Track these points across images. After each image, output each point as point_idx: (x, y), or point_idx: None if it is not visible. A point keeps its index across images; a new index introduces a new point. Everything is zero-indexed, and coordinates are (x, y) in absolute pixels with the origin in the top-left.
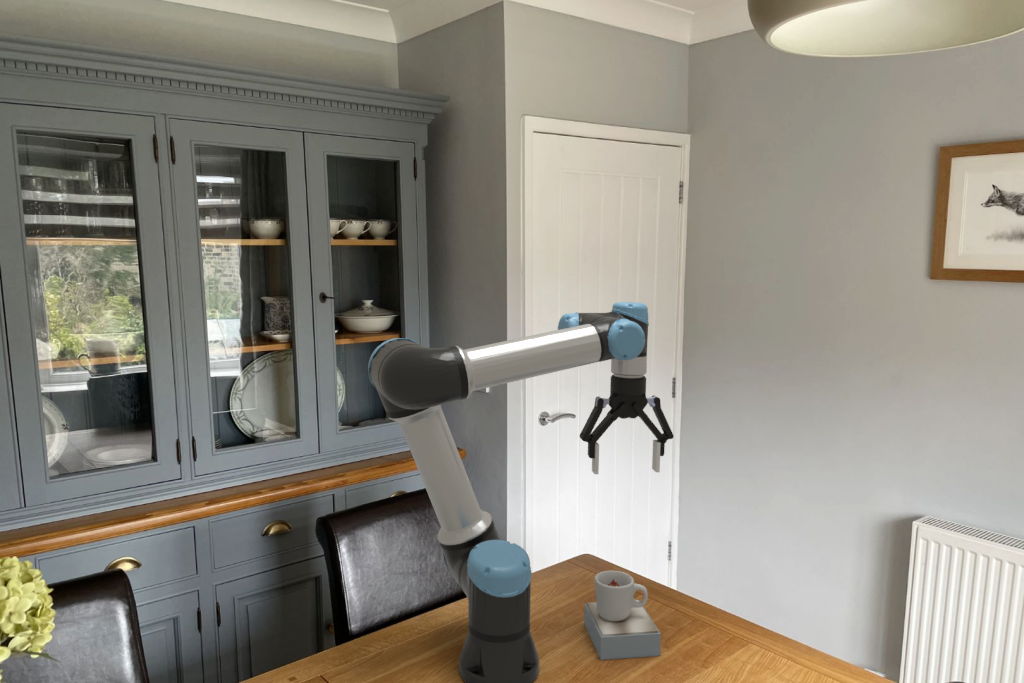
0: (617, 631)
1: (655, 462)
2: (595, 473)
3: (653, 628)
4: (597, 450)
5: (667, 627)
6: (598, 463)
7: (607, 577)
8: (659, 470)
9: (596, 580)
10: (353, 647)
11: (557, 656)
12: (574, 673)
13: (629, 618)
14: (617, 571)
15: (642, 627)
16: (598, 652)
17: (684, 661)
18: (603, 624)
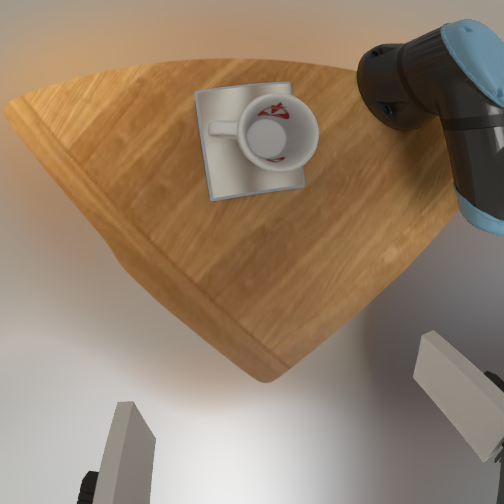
0: (264, 90)
1: (132, 446)
2: (434, 332)
3: (204, 99)
4: (498, 399)
5: (169, 180)
6: (453, 361)
7: (287, 161)
8: (116, 407)
9: (317, 124)
10: None
11: (336, 103)
12: (316, 66)
13: None
14: (268, 166)
15: (221, 102)
16: None
17: (164, 89)
18: None
